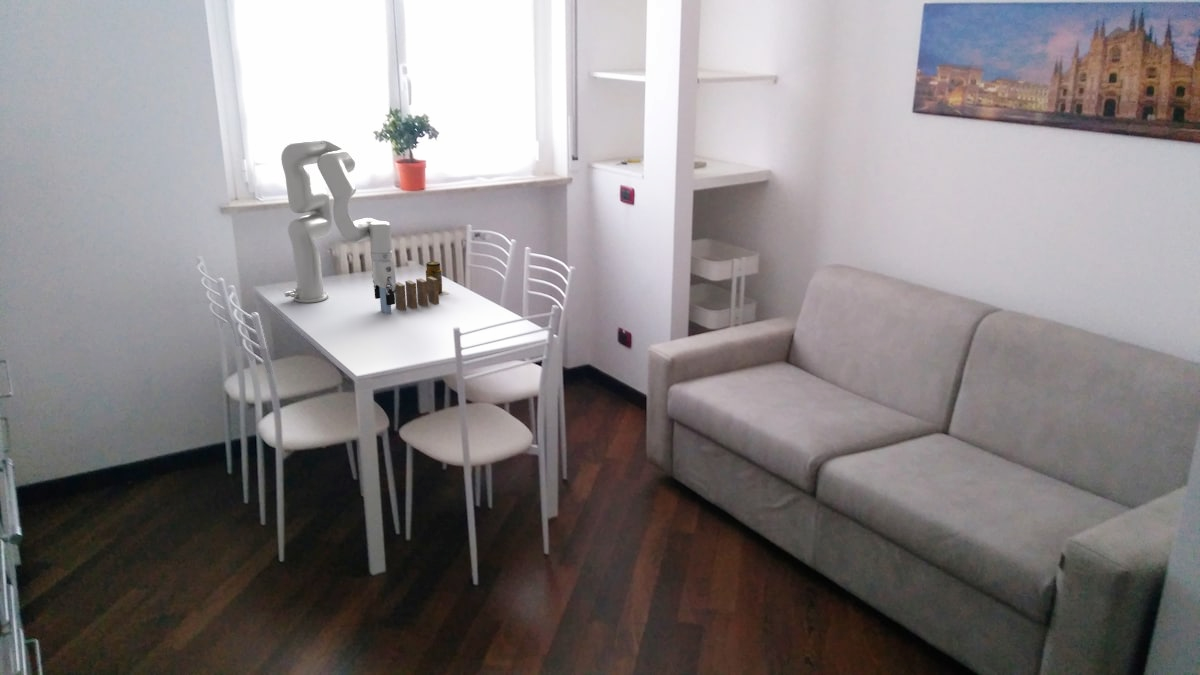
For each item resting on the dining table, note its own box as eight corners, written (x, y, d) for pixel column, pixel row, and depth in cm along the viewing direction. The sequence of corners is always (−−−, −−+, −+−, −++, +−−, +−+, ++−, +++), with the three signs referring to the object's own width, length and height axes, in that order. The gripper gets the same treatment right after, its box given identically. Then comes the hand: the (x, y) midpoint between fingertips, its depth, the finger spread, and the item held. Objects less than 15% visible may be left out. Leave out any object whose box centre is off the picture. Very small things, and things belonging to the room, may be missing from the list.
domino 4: (423, 306, 343) (422, 282, 340) (417, 303, 347) (416, 279, 344) (428, 305, 344) (426, 281, 341) (422, 302, 348) (420, 278, 345)
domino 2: (401, 310, 338) (400, 285, 335) (395, 307, 342) (394, 282, 339) (406, 309, 339) (404, 285, 336) (400, 306, 343) (398, 282, 340)
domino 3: (413, 308, 341) (411, 284, 337) (406, 305, 344) (405, 281, 341) (417, 307, 342) (415, 283, 338) (411, 304, 345) (409, 280, 342)
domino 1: (386, 313, 334) (385, 288, 331) (380, 310, 338) (379, 285, 335) (391, 312, 336) (389, 287, 332) (385, 309, 339) (383, 284, 336)
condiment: (438, 289, 365) (436, 259, 361) (449, 293, 359) (447, 264, 355) (421, 292, 361) (420, 262, 357) (432, 297, 355) (430, 267, 351)
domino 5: (434, 304, 346) (433, 280, 343) (428, 301, 349) (427, 277, 346) (439, 303, 347) (437, 279, 344) (432, 300, 350) (431, 276, 347)
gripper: (402, 259, 326) (405, 305, 331) (381, 249, 339) (384, 294, 344) (382, 262, 321) (385, 309, 327) (362, 252, 334) (365, 297, 340)
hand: (385, 301), depth 336 cm, fingers open, 9 cm apart
